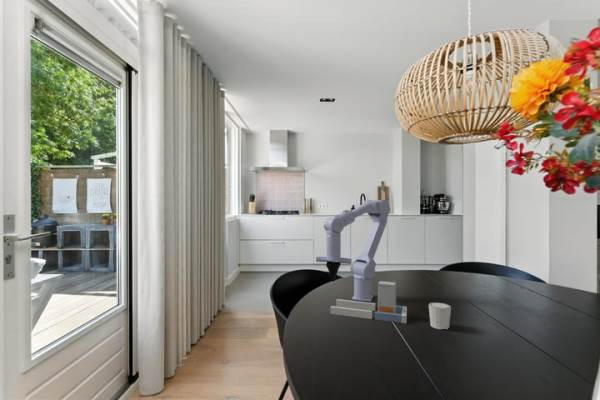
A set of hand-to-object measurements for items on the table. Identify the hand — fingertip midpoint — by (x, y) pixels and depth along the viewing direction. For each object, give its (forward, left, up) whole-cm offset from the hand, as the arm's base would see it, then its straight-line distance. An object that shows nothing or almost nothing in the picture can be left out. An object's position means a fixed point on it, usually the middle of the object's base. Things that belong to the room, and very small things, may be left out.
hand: (333, 280), depth 128 cm
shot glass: (+11, +39, -10) cm, 42 cm away
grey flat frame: (+7, +15, -9) cm, 19 cm away
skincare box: (+7, +22, -10) cm, 25 cm away
